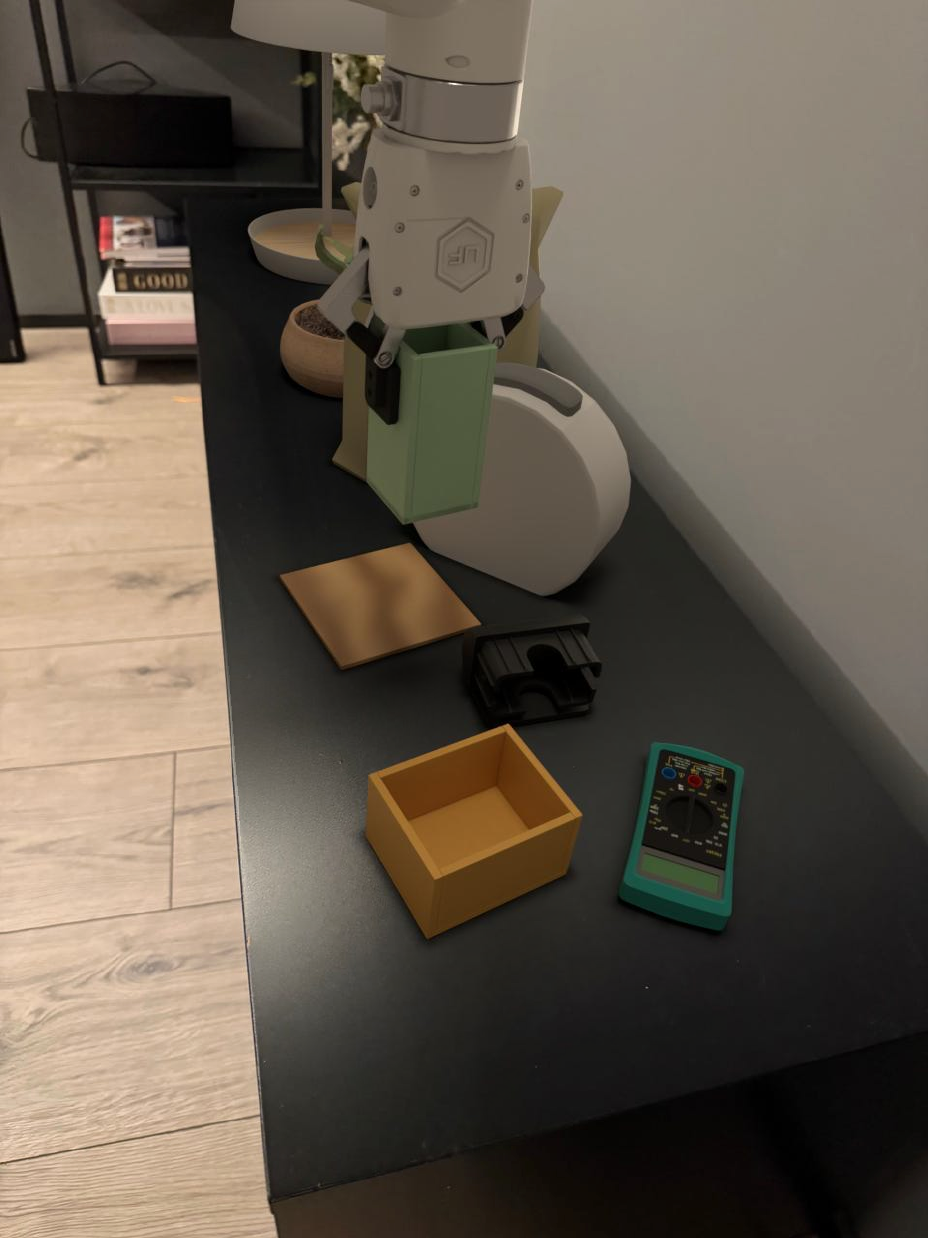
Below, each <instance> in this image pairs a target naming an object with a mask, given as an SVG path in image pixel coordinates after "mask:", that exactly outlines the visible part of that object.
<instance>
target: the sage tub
mask: <svg viewBox="0 0 928 1238" xmlns="http://www.w3.org/2000/svg"><path fill="white" fill-rule="evenodd" d="M497 351H498V347H497V346H495V345H494V344H493V343H492V342H490V341H489V340H488V339H487V338H485V337H484V336H483V335H481V334H480V333H479V332H478V331H476V330H475V329H474V328H472V327H471V326H470V325H469V324H467V323H466V322H465V323H457V324H449V325H441V326H433V327H424V328H415V329H407V330H406V332H405V334H404V337H403V339H402V342H401V344H400V347H399V349H398V351H397V354H396V356H395V359H394V363H395V364H396V365H397V366H398V367H399V368H400V371H401V378H400V395H399V413H398V421H397V423H396V424H393V425H387V424H386V423H385V422H384V421H383V420H382V419H381V418H380V417H379V416H378V415H377V414H376V413H375V412H374V411H373V410H372V409H371V408H370V407H369V421H368V450H367V478H366V482H365V483H367V484H368V486H369V487H370V488H371V489H372V490H373V491H374V492H375V494H376V495H377V496H378V497H379V498H380V500H381V501H382V502H383V503H384V504H385V505H386V507H387V508H388V509H389V510H390V511H391V512H392V514H393V515H394V516H395V518H396V519H397V520H398V521H399V522H400V523H401V524H402V525H408V524H413V522H417V521H422V520H426V519H430V518H435V517H439V516H444V515H448V514H452V513H457V512H461V511H466V510H470V509H474V508H478V503H479V495H480V487H481V479H482V471H483V463H484V455H485V447H486V439H487V431H488V423H489V415H490V407H491V399H492V391H493V383H494V375H495V367H496V359H497Z"/></svg>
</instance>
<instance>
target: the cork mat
mask: <svg viewBox="0 0 928 1238" xmlns="http://www.w3.org/2000/svg"><path fill="white" fill-rule="evenodd" d="M279 580H280V582H281V583H282V585H283V587H284V588H285V590H286V591H287V592H288V594H289V595H290V597H291V598H292V600H293V601H294V603H295V604H296V606H297V607H298V609H299V611H300V612H301V613H302V615H303V616H304V617H305V619H306V620H307V622H308V624H309V625H310V626H311V628H312V629H313V631H314V632H315V634H316V635H317V637H318V638H319V640H320V641H321V642H322V644H323V646H324V647H325V648H326V650H327V651H328V653H329V655H330V656H331V657H332V659H333V660H334V662H335V664H336V665H337V667H338V668H339V669H340V671H344V670H347V669H350V668H351V669H352V668H353V667H356V666H360V665H363V664H366V663H371V662H373V661H376V660H379V659H384V658H386V657H389V656H393V655H397V654H399V653H402V652H407V651H410V650H412V649H416V648H419V647H422V646H426V645H428V644H432V643H436V642H439V641H442V640H445V639H448V638H452V637H455V636H458V635H462V634H465V632H466V630H467V629H469V628H471V627H479V626H482V623H481V622H480V621H479V620H478V619H477V617H476V616H475V615H474V614H473V613H472V611H471V610H470V609H469V608H468V607H467V606H466V605H465V604H464V603H463V601H462V600H461V598H459V597H458V595H457V594H456V593H455V592H454V591H453V589H451V587H450V586H449V585H448V584H447V583H446V582H445V580H444V579H443V578H442V577H441V576H440V575H439V573H438V572H437V571H436V570H435V569H434V568H433V567H432V566H431V565H430V564H429V561H427V560H426V558H424V557H423V555H422V554H421V553H420V551H418V550H417V549H416V547H415V546H414V545H413V544H412V543H411V542H407V543H403V544H399V545H395V546H391V547H388V548H387V547H386V548H383V549H379V550H375V551H371V552H367V553H363V554H358V555H355V556H351V557H347V558H346V557H345V558H343V559H339V560H335V561H331V562H327V563H322V564H319V565H315V566H310V567H306V568H303V569H299V570H294V571H290V572H287V573H283V574H279Z"/></svg>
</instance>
